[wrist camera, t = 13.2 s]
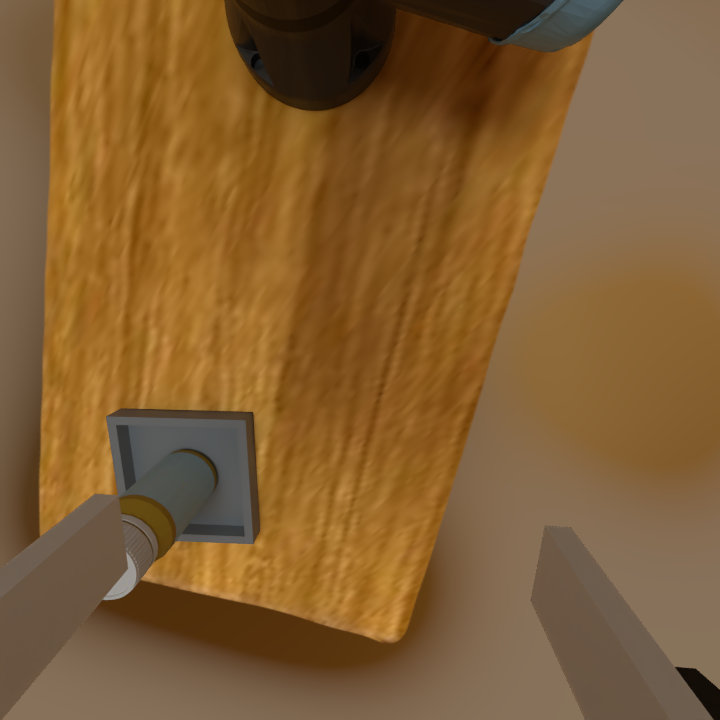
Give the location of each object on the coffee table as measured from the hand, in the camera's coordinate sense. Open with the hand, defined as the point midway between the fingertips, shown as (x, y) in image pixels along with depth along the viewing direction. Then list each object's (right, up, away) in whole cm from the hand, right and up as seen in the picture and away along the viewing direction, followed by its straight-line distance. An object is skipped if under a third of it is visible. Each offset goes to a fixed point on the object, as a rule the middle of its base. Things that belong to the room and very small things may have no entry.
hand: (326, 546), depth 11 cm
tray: (-20, -8, +34) cm, 40 cm away
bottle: (-20, -8, +34) cm, 40 cm away
